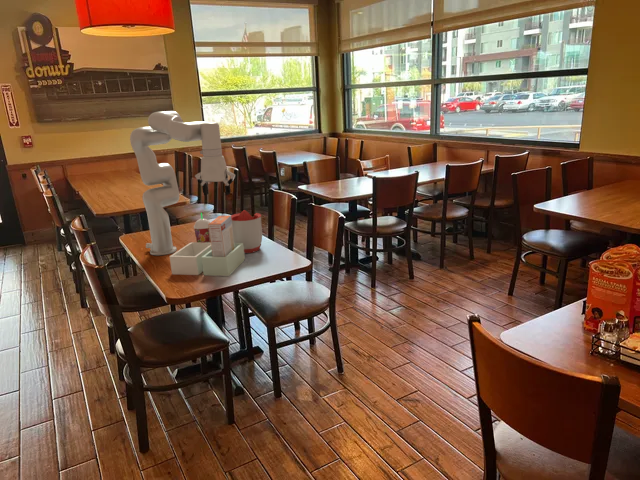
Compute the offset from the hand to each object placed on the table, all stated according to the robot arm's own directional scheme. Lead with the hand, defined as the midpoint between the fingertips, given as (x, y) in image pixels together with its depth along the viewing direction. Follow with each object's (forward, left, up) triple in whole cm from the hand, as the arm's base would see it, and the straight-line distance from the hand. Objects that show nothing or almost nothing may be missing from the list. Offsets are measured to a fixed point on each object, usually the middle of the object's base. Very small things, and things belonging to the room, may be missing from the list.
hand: (217, 194), depth 195 cm
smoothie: (-17, +18, -32) cm, 41 cm away
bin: (0, 0, -32) cm, 32 cm away
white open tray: (-14, 0, -32) cm, 35 cm away
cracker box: (+1, -1, -32) cm, 32 cm away
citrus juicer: (+2, +25, -32) cm, 41 cm away
